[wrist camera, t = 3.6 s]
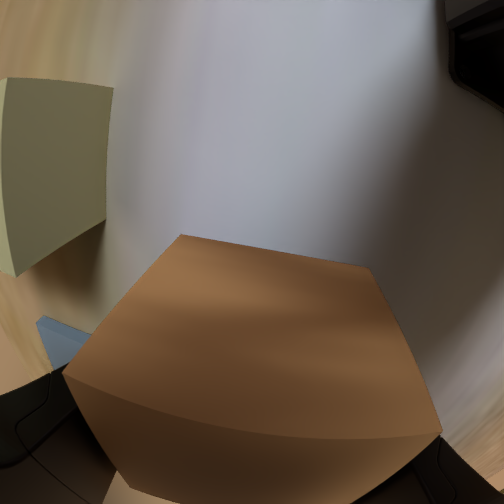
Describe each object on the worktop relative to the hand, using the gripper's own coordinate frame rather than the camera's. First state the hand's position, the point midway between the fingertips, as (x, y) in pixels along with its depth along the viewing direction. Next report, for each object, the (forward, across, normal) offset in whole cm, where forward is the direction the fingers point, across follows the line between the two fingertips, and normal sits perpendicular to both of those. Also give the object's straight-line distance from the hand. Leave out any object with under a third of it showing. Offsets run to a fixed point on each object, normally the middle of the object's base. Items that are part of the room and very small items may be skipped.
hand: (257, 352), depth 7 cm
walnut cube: (+1, 0, 0) cm, 1 cm away
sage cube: (+4, +9, -4) cm, 10 cm away
